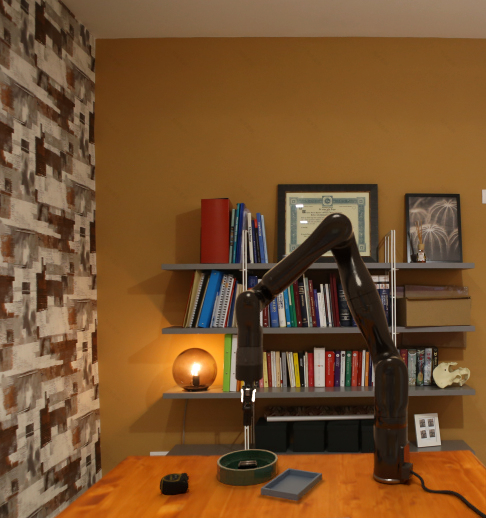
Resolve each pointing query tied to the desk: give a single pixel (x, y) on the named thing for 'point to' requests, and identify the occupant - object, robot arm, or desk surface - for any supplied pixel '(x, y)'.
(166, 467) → the desk surface
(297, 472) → the tray
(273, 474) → the bowl
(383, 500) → the desk surface
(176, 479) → the tape measure
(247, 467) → the clip
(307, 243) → the robot arm
